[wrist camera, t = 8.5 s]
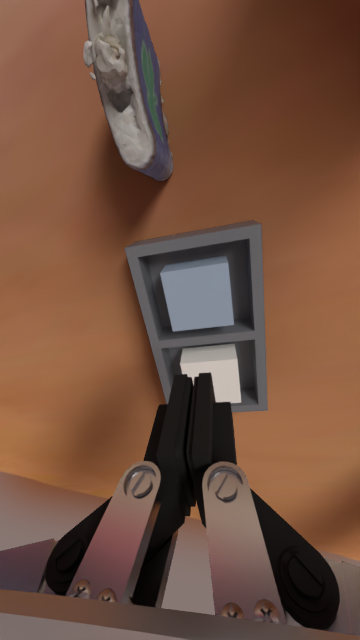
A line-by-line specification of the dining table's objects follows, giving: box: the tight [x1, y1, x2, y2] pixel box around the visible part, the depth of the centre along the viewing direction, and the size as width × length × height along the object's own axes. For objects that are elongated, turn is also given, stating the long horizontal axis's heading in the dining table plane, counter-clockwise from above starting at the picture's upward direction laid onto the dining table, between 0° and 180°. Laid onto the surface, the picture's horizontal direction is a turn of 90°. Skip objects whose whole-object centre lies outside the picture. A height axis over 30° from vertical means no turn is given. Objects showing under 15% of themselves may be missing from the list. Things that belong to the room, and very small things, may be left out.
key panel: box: [125, 220, 268, 412], centre depth 27 cm, size 12×21×4 cm, turn 10°
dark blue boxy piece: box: [84, 0, 173, 181], centre depth 16 cm, size 9×3×11 cm, turn 8°
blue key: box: [160, 255, 234, 332], centre depth 23 cm, size 6×6×3 cm
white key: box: [180, 344, 241, 403], centre depth 28 cm, size 6×6×3 cm
